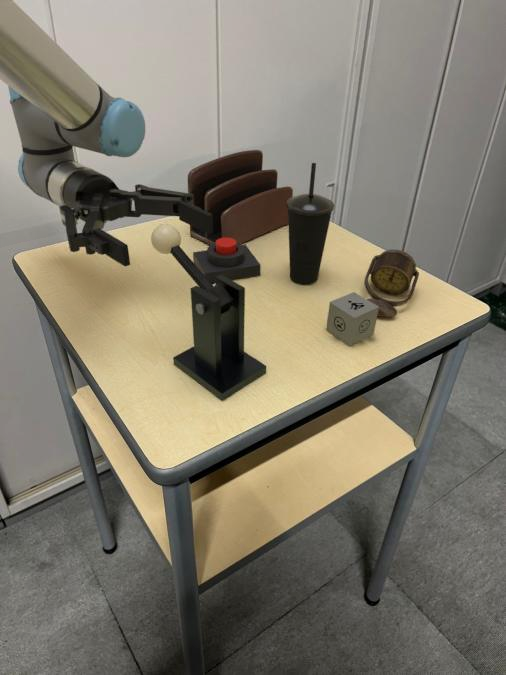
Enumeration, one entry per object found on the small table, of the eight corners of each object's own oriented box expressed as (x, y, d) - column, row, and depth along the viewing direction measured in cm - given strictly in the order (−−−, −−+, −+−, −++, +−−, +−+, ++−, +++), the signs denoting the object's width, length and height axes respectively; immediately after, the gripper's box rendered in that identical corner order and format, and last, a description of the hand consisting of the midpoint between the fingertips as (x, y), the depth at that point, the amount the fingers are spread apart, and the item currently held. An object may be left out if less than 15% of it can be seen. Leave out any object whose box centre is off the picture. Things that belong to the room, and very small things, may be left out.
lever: (143, 243, 68) (147, 222, 65) (166, 235, 70) (172, 214, 67) (209, 323, 64) (217, 305, 61) (231, 311, 66) (240, 293, 63)
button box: (205, 284, 88) (204, 263, 86) (193, 263, 94) (192, 242, 92) (260, 275, 91) (260, 255, 88) (245, 255, 97) (245, 235, 94)
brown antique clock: (443, 267, 83) (393, 235, 88) (405, 290, 75) (351, 253, 79) (423, 301, 88) (376, 269, 92) (384, 326, 80) (335, 290, 84)
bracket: (173, 364, 71) (166, 283, 63) (217, 340, 76) (215, 262, 68) (222, 401, 65) (220, 317, 58) (266, 372, 70) (270, 292, 62)
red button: (219, 257, 88) (219, 247, 87) (213, 247, 91) (213, 238, 90) (239, 254, 89) (239, 245, 88) (232, 245, 92) (232, 236, 91)
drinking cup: (283, 265, 94) (290, 154, 82) (326, 269, 93) (339, 157, 81) (279, 287, 88) (286, 170, 76) (324, 291, 87) (339, 173, 75)
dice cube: (349, 346, 75) (354, 317, 72) (326, 329, 78) (329, 302, 75) (373, 334, 77) (379, 306, 74) (349, 319, 81) (353, 291, 78)
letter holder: (189, 236, 103) (185, 165, 94) (258, 209, 114) (260, 143, 106) (223, 253, 97) (222, 179, 89) (292, 223, 109) (297, 155, 100)
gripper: (154, 196, 88) (240, 237, 76) (11, 240, 74) (90, 299, 62) (150, 152, 84) (240, 187, 72) (-3, 189, 69) (78, 241, 57)
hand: (171, 239), depth 67 cm, fingers open, 13 cm apart
